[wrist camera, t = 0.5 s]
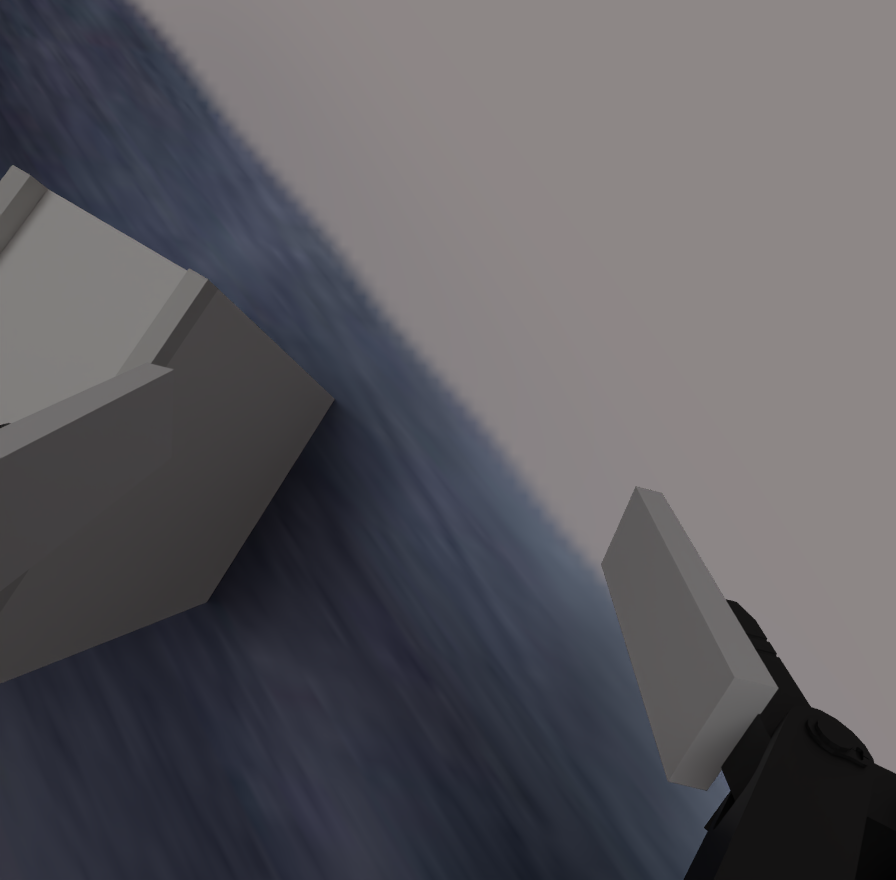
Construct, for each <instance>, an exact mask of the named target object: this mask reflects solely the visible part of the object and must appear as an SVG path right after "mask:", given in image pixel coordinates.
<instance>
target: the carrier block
mask: <svg viewBox="0 0 896 880" xmlns="http://www.w3.org/2000/svg"><path fill="white" fill-rule="evenodd" d="M146 362H147V363H151V364H154V365H158V366H162V367H166V368H170V369H174V388H173V421H172V455H171V458H170V459H169V460H168V461H166V462H165V463H164V464H162V465H161V466H160V467H159V468H157V469H156V470H155V471H154V472H152V473H151V474H150V475H148V476H147V477H146V478H145V479H143V480H142V481H141V482H139V483H138V484H137V485H136V486H134V487H133V488H132V489H131V490H129V491H128V492H127V493H125V494H124V495H123V496H122V497H120V498H119V499H118V500H117V501H115V502H114V503H113V504H111V505H110V506H109V507H108V508H106V509H105V510H104V511H102V512H101V513H100V514H99V515H97V516H96V517H95V518H94V519H92V520H91V521H90V522H88V523H87V524H86V525H85V526H83V527H82V528H81V529H79V530H78V531H77V532H76V533H74V534H73V535H72V536H71V537H69V538H68V539H67V540H65V541H64V542H63V543H62V544H60V545H59V546H58V547H56V548H55V549H54V550H53V551H51V552H50V553H49V554H48V555H46V556H45V557H44V558H42V559H41V560H40V561H39V562H37V563H36V564H35V565H33V566H32V567H31V568H30V569H28V570H27V571H26V572H25V573H23V574H22V575H21V576H19V577H18V578H17V579H16V580H14V581H13V582H12V583H11V584H9V585H8V586H7V587H5V588H4V589H3V590H2V591H0V683H3V682H5V681H8V680H10V679H13V678H16V677H18V676H21V675H23V674H26V673H28V672H31V671H33V670H36V669H38V668H41V667H43V666H46V665H49V664H51V663H54V662H56V661H59V660H61V659H64V658H66V657H69V656H71V655H74V654H76V653H79V652H82V651H84V650H87V649H89V648H92V647H94V646H97V645H99V644H102V643H104V642H107V641H109V640H112V639H115V638H117V637H120V636H122V635H125V634H127V633H130V632H132V631H135V630H137V629H140V628H142V627H145V626H148V625H150V624H153V623H155V622H158V621H160V620H163V619H165V618H168V617H170V616H173V615H175V614H178V613H181V612H183V611H186V610H188V609H191V608H193V607H196V606H198V605H201V604H203V603H206V602H207V601H208V600H209V598H210V596H211V595H212V593H213V592H214V590H215V589H216V587H217V585H218V584H219V582H220V581H221V579H222V577H223V576H224V574H225V573H226V571H227V569H228V568H229V566H230V565H231V563H232V562H233V560H234V558H235V557H236V555H237V554H238V552H239V550H240V549H241V547H242V546H243V544H244V543H245V541H246V539H247V538H248V536H249V535H250V533H251V531H252V530H253V528H254V527H255V525H256V523H257V522H258V520H259V519H260V517H261V516H262V514H263V512H264V511H265V509H266V508H267V506H268V504H269V503H270V501H271V500H272V498H273V496H274V495H275V493H276V492H277V490H278V489H279V487H280V485H281V484H282V482H283V481H284V479H285V477H286V476H287V474H288V473H289V471H290V470H291V468H292V466H293V465H294V463H295V462H296V460H297V458H298V457H299V455H300V454H301V452H302V450H303V449H304V447H305V446H306V444H307V443H308V441H309V439H310V438H311V436H312V435H313V433H314V431H315V430H316V428H317V427H318V425H319V424H320V422H321V420H322V419H323V417H324V416H325V414H326V412H327V411H328V409H329V408H330V406H331V404H332V403H333V401H334V400H335V399H334V398H333V397H332V396H331V395H330V394H329V393H328V392H327V391H326V390H325V389H324V388H323V387H321V386H320V385H319V384H318V383H317V382H316V381H315V380H314V379H313V378H312V377H311V376H310V375H309V374H308V373H307V372H306V371H305V370H303V369H302V368H301V367H300V366H299V365H298V364H297V363H296V362H295V361H294V360H293V359H292V358H291V357H290V356H289V355H288V354H287V353H285V352H284V351H283V350H282V349H281V348H280V347H279V346H278V345H277V344H276V343H275V342H274V341H273V340H272V339H271V338H270V337H269V336H267V335H266V334H265V333H264V332H263V331H262V330H261V329H260V328H259V327H258V326H257V325H256V324H255V323H254V322H253V321H252V320H250V319H249V318H248V317H247V316H246V315H245V314H244V313H243V312H242V311H241V310H240V309H239V308H238V307H237V306H236V305H235V304H234V303H232V302H231V301H230V300H229V299H228V298H227V297H226V296H225V295H224V294H223V293H222V292H221V291H220V290H219V289H218V288H217V287H216V286H214V285H213V284H212V283H211V282H210V281H209V280H208V279H207V278H205V277H203V276H201V275H200V274H198V273H196V272H195V271H193V270H191V269H188V271H187V270H185V269H183V268H181V267H180V266H178V265H176V264H175V263H173V262H171V261H169V260H168V259H166V258H164V257H163V256H161V255H159V254H158V253H156V252H154V251H152V250H151V249H149V248H147V247H146V246H144V245H142V244H141V243H139V242H137V241H135V240H134V239H132V238H130V237H129V236H127V235H125V234H123V233H122V232H120V231H118V230H117V229H115V228H113V227H112V226H110V225H108V224H106V223H105V222H103V221H101V220H100V219H98V218H96V217H94V216H93V215H91V214H89V213H88V212H86V211H84V210H83V209H81V208H79V207H77V206H76V205H74V204H72V203H71V202H69V201H67V200H65V199H64V198H62V197H60V196H59V195H57V194H55V193H54V192H52V191H50V190H48V189H47V188H46V187H45V186H43V185H42V184H41V183H39V182H38V181H37V180H36V179H34V178H33V177H32V176H31V175H29V174H27V173H26V172H24V171H22V170H20V169H19V168H17V167H15V166H14V165H12V166H11V168H10V169H9V170H8V172H7V173H6V174H5V176H4V177H3V178H2V180H1V181H0V425H2V424H6V423H13V422H15V421H18V420H20V419H22V418H24V417H26V416H29V415H31V414H33V413H35V412H38V411H40V410H42V409H44V408H46V407H49V406H51V405H53V404H55V403H58V402H60V401H62V400H64V399H66V398H69V397H71V396H73V395H75V394H78V393H80V392H82V391H84V390H86V389H89V388H91V387H93V386H95V385H97V384H100V383H102V382H104V381H106V380H109V379H111V378H113V377H115V376H117V375H120V374H122V373H124V372H126V371H129V370H131V369H133V368H135V367H137V366H140V365H142V364H144V363H146Z"/></svg>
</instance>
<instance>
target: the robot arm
mask: <svg viewBox="0 0 896 880" xmlns="http://www.w3.org/2000/svg"><path fill="white" fill-rule="evenodd" d="M173 388H174V369H170V368H166V367H162V366H158V365H154V364H151V363H147V362H146V363H144V364H142V365H140V366H137V367H135V368H133V369H131V370H129V371H126V372H124V373H122V374H120V375H117V376H115V377H113V378H111V379H109V380H106V381H104V382H102V383H100V384H97V385H95V386H93V387H91V388H89V389H86V390H84V391H82V392H80V393H78V394H75V395H73V396H71V397H69V398H66V399H64V400H62V401H60V402H58V403H55V404H53V405H51V406H49V407H46V408H44V409H42V410H40V411H38V412H35V413H33V414H31V415H29V416H26V417H24V418H22V419H20V420H18V421H15V422H13V423H6V424H2V425H0V591H2V590H3V589H4V588H5V587H7V586H8V585H9V584H11V583H12V582H13V581H14V580H16V579H17V578H18V577H19V576H21V575H22V574H23V573H25V572H26V571H27V570H28V569H30V568H31V567H32V566H33V565H35V564H36V563H37V562H39V561H40V560H41V559H42V558H44V557H45V556H46V555H48V554H49V553H50V552H51V551H53V550H54V549H55V548H56V547H58V546H59V545H60V544H62V543H63V542H64V541H65V540H67V539H68V538H69V537H71V536H72V535H73V534H74V533H76V532H77V531H78V530H79V529H81V528H82V527H83V526H85V525H86V524H87V523H88V522H90V521H91V520H92V519H94V518H95V517H96V516H97V515H99V514H100V513H101V512H102V511H104V510H105V509H106V508H108V507H109V506H110V505H111V504H113V503H114V502H115V501H117V500H118V499H119V498H120V497H122V496H123V495H124V494H125V493H127V492H128V491H129V490H131V489H132V488H133V487H134V486H136V485H137V484H138V483H139V482H141V481H142V480H143V479H145V478H146V477H147V476H148V475H150V474H151V473H152V472H154V471H155V470H156V469H157V468H159V467H160V466H161V465H162V464H164V463H165V462H166V461H168V460H169V459H170V458H171V455H172V421H173ZM601 565H602V569H603V572H604V575H605V578H606V582H607V585H608V588H609V591H610V595H611V598H612V601H613V604H614V608H615V611H616V614H617V617H618V621H619V624H620V627H621V630H622V634H623V637H624V640H625V643H626V647H627V650H628V653H629V656H630V660H631V663H632V666H633V670H634V673H635V676H636V679H637V683H638V686H639V689H640V692H641V696H642V699H643V702H644V705H645V709H646V712H647V715H648V718H649V722H650V725H651V728H652V731H653V735H654V738H655V741H656V744H657V748H658V751H659V754H660V757H661V761H662V764H663V767H664V770H665V774H666V777H667V780H668V782H672V783H677V784H681V785H685V786H689V787H694V788H698V789H702V790H706V791H707V790H708V789H709V787H710V786H711V784H712V783H713V781H714V780H715V779H716V777H717V776H718V774H719V773H720V771H721V770H722V771H723V773H724V776H725V778H726V781H727V783H728V785H729V788H730V790H731V791H730V792H729V794H728V795H727V797H726V798H725V799H724V801H723V802H722V803H721V805H720V806H719V808H718V809H717V810H716V812H715V813H714V814H713V816H712V817H711V819H710V820H709V821H708V823H707V824H706V825H705V827H704V828H705V829H706V830H707V831H708V832H707V834H706V836H705V838H704V840H703V842H702V844H701V846H700V848H699V850H698V852H697V854H696V856H695V858H694V860H693V862H692V864H691V866H690V868H689V870H688V872H687V874H686V876H685V878H684V880H896V774H895V773H893V772H891V771H889V770H887V769H885V768H883V767H881V766H878V765H877V764H875V763H874V760H873V758H872V756H871V755H870V753H869V751H868V749H867V748H866V746H865V745H864V744H863V743H862V742H861V741H860V739H859V738H858V737H857V736H856V735H855V734H854V733H853V732H852V731H851V730H849V729H848V728H847V727H846V726H844V725H843V724H842V723H841V722H839V721H838V720H837V719H835V718H834V717H832V716H830V715H828V714H826V713H825V712H823V711H821V710H818V709H815V708H812V707H811V706H810V705H809V704H808V702H807V700H806V699H805V697H804V696H803V694H802V692H801V691H800V689H799V688H798V686H797V685H796V683H795V682H794V680H793V678H792V677H791V675H790V674H789V672H788V670H787V669H786V667H785V666H784V664H783V663H782V661H781V659H780V658H779V657H776V654H777V653H776V652H775V650H774V649H773V647H772V645H771V644H770V642H767V638H766V636H765V634H764V633H763V631H762V630H761V628H760V627H759V625H758V624H757V622H756V620H755V619H754V618H753V617H752V616H751V615H749V614H748V613H747V612H746V611H745V610H744V609H743V608H742V607H741V606H740V605H739V604H738V603H737V602H734V601H731V600H727V599H725V598H724V596H723V594H722V593H721V591H720V589H719V588H718V586H717V584H716V583H715V581H714V580H713V578H712V576H711V574H710V573H709V571H708V569H707V568H706V566H705V564H704V562H703V561H702V559H701V557H700V556H699V554H698V552H697V551H696V549H695V547H694V546H693V544H692V542H691V541H690V539H689V537H688V536H687V534H686V532H685V531H684V529H683V527H682V526H681V524H680V522H679V521H678V519H677V517H676V516H675V514H674V512H673V510H672V509H671V507H670V505H669V504H668V503H667V500H666V499H665V497H664V495H663V494H662V493H660V492H656V491H652V490H648V489H644V488H640V487H635V489H634V492H633V494H632V496H631V498H630V501H629V503H628V505H627V507H626V510H625V512H624V514H623V516H622V519H621V521H620V523H619V526H618V528H617V530H616V532H615V535H614V537H613V539H612V541H611V543H610V546H609V548H608V550H607V552H606V555H605V557H604V559H603V561H602V564H601Z"/></svg>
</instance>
